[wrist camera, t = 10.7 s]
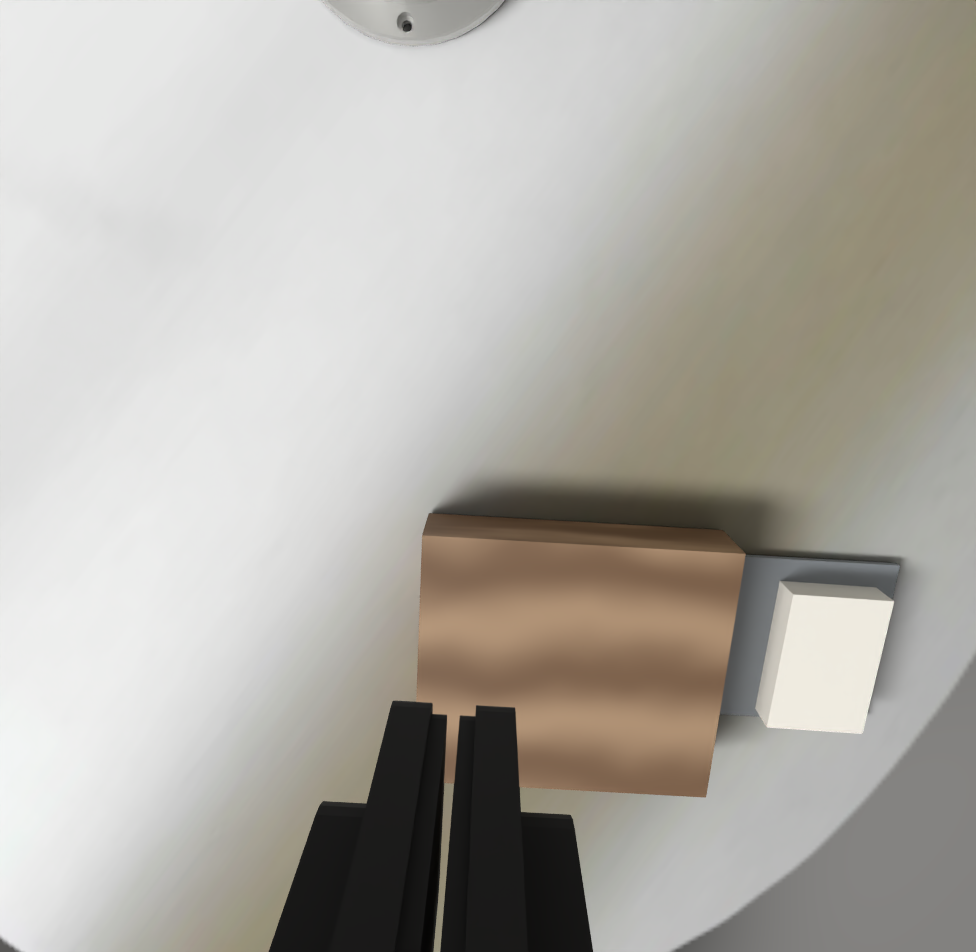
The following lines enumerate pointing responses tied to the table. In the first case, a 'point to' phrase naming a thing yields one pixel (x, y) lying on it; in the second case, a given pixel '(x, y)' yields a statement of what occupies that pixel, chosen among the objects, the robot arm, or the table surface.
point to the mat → (759, 609)
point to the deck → (582, 645)
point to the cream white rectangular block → (822, 656)
